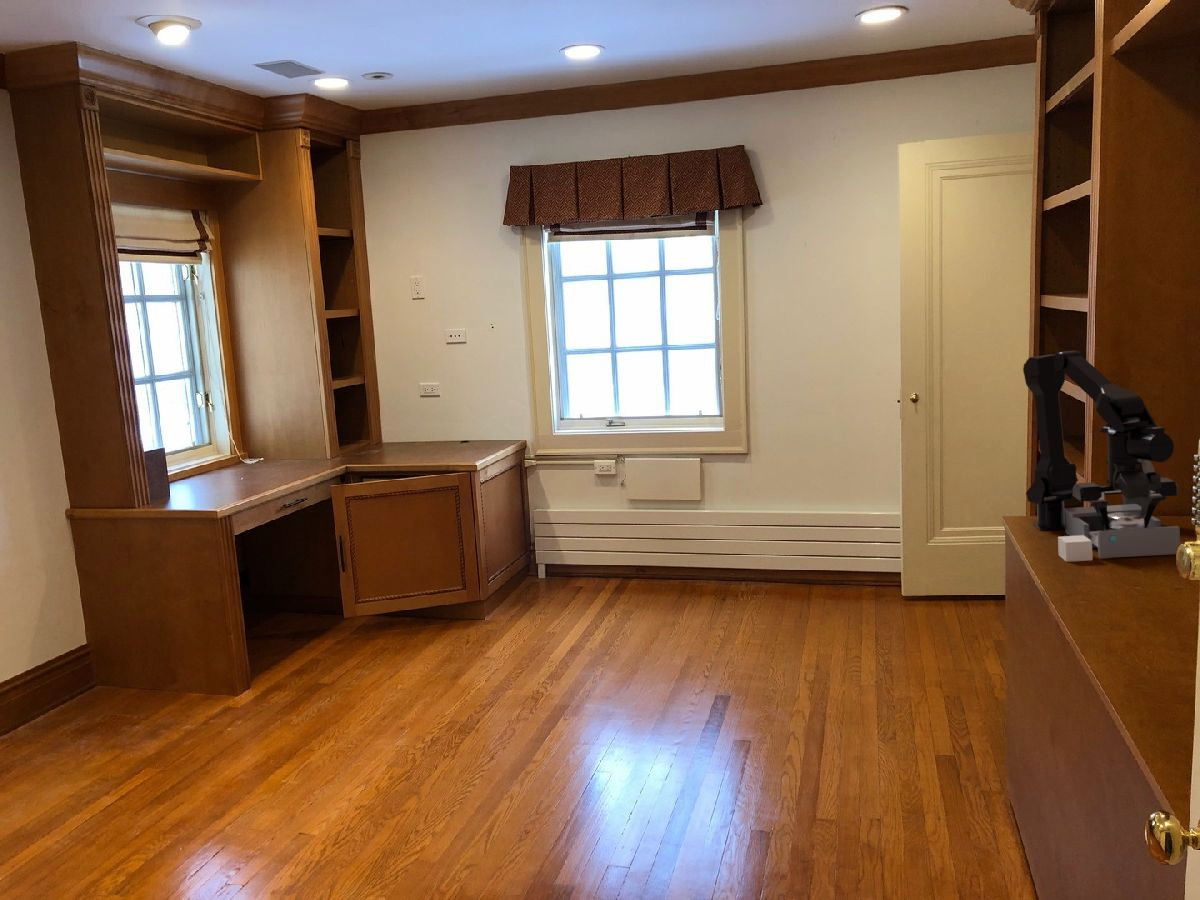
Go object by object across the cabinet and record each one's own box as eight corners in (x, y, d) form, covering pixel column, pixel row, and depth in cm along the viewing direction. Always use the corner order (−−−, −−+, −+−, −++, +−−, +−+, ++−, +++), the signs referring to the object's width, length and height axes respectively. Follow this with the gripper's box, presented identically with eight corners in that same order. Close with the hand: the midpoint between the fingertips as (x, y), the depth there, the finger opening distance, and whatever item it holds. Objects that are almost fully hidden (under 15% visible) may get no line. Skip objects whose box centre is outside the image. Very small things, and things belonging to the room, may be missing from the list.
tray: (1078, 542, 211) (1078, 517, 210) (1153, 538, 208) (1153, 512, 208) (1100, 558, 198) (1100, 532, 197) (1181, 554, 195) (1180, 527, 194)
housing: (1065, 533, 220) (1064, 508, 219) (1136, 529, 217) (1136, 503, 217) (1084, 548, 207) (1083, 521, 206) (1160, 543, 205) (1160, 516, 204)
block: (1058, 555, 204) (1058, 536, 203) (1084, 553, 203) (1083, 535, 202) (1066, 561, 199) (1065, 542, 198) (1092, 560, 198) (1091, 541, 198)
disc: (1113, 530, 201) (1113, 520, 200) (1101, 522, 207) (1101, 513, 207) (1150, 528, 199) (1150, 518, 199) (1137, 520, 206) (1136, 511, 206)
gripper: (1088, 466, 195) (1090, 542, 197) (1189, 459, 192) (1191, 536, 194) (1070, 457, 206) (1073, 529, 208) (1166, 450, 203) (1167, 523, 205)
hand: (1125, 529), depth 204 cm, fingers closed on disc, 7 cm apart
